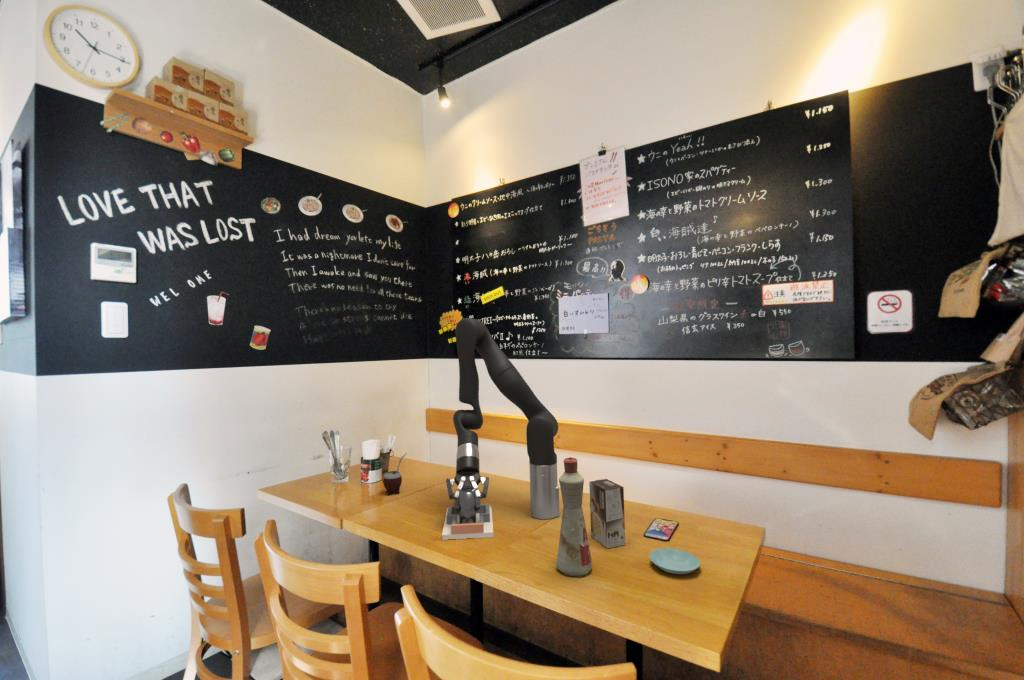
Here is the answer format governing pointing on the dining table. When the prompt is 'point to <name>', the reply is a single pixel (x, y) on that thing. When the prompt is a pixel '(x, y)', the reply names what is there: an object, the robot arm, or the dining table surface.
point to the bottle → (573, 524)
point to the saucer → (674, 560)
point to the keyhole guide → (468, 524)
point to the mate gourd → (393, 480)
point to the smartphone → (661, 529)
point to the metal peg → (467, 506)
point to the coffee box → (607, 513)
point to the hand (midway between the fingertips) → (467, 510)
